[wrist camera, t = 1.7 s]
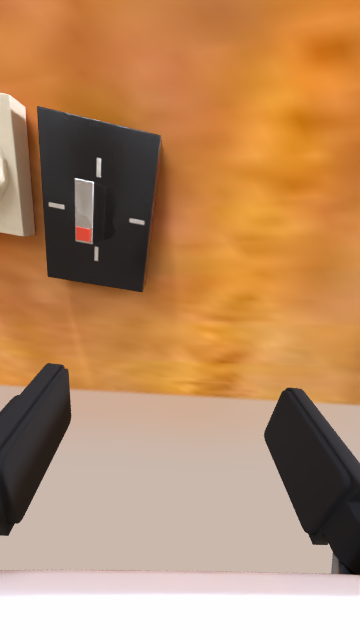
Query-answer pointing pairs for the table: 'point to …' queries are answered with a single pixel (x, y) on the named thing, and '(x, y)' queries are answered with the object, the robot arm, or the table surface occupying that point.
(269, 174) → the table surface
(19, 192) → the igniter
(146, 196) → the panel
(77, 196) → the hob knob
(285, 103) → the table surface
